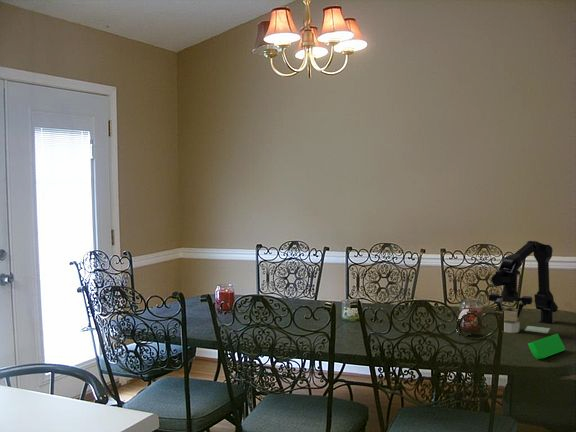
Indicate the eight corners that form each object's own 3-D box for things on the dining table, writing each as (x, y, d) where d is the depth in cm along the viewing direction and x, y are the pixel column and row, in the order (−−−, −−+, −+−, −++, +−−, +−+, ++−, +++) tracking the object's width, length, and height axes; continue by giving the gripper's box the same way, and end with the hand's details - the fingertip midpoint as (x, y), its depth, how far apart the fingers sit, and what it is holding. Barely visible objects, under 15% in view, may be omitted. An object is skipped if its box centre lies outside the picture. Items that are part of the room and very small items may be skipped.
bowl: (502, 328, 276) (502, 319, 276) (520, 330, 272) (520, 321, 272) (499, 332, 269) (499, 322, 269) (517, 334, 265) (517, 324, 265)
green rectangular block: (546, 356, 245) (538, 340, 247) (566, 350, 238) (557, 333, 240) (520, 366, 232) (512, 348, 235) (541, 359, 225) (532, 341, 228)
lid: (503, 316, 275) (503, 306, 275) (519, 318, 271) (519, 308, 271) (500, 319, 269) (501, 309, 269) (516, 321, 265) (516, 311, 265)
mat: (527, 326, 279) (527, 325, 279) (550, 329, 274) (550, 328, 274) (524, 331, 270) (524, 330, 270) (547, 334, 265) (547, 333, 265)
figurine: (474, 337, 261) (474, 311, 261) (457, 336, 263) (457, 310, 262) (472, 332, 268) (472, 307, 268) (455, 332, 270) (456, 307, 269)
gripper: (486, 285, 267) (486, 318, 268) (529, 288, 258) (528, 322, 259) (491, 281, 277) (490, 313, 278) (532, 284, 267) (532, 317, 268)
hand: (510, 316), depth 270 cm, fingers closed on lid, 7 cm apart
